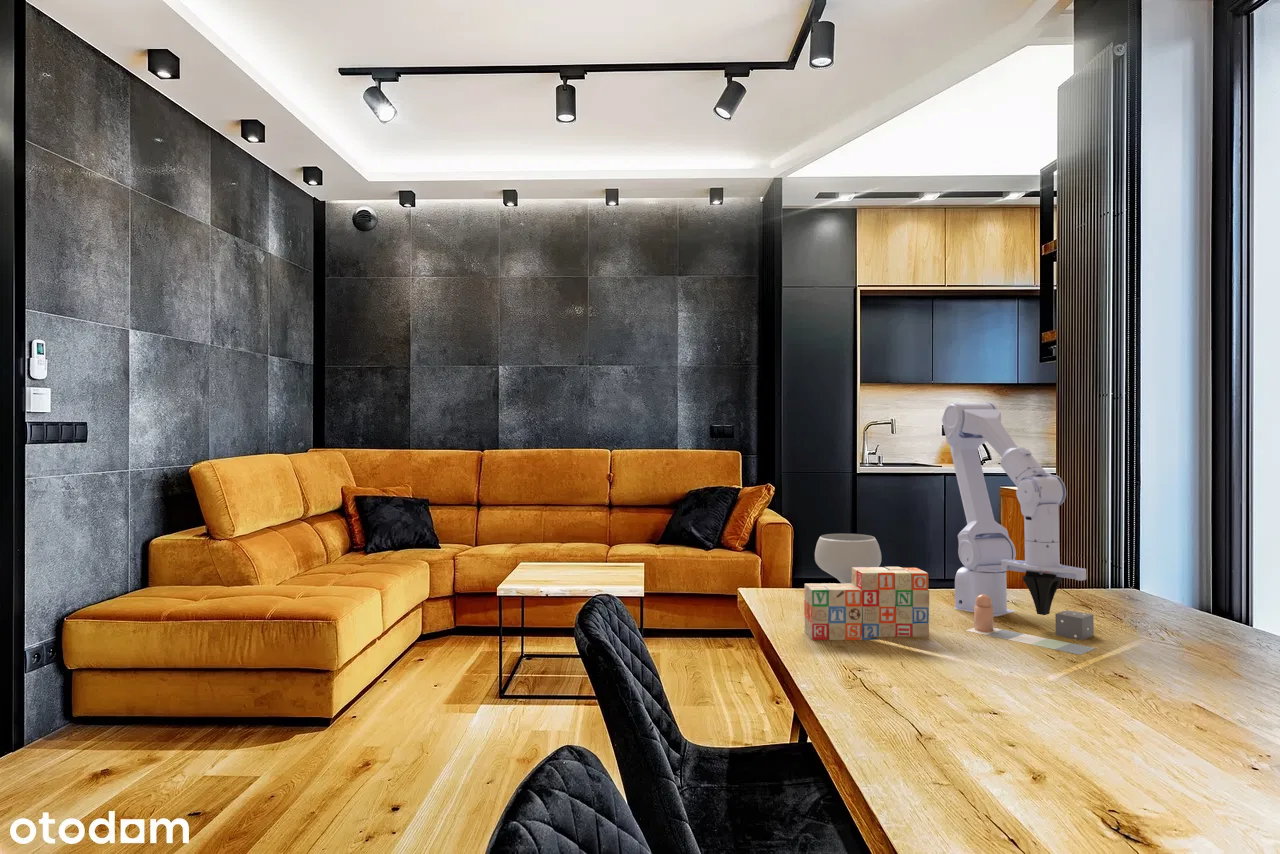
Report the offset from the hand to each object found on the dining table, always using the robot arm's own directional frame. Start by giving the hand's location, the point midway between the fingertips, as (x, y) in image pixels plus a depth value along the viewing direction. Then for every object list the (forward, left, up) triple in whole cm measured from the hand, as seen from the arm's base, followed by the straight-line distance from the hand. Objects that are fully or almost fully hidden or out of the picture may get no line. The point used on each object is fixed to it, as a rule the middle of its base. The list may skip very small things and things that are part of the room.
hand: (1043, 613), depth 140 cm
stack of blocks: (-19, -27, -4) cm, 34 cm away
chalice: (-37, -10, -4) cm, 38 cm away
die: (+5, 0, -4) cm, 7 cm away
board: (+1, -9, -3) cm, 10 cm away
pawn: (-7, -9, -3) cm, 11 cm away
